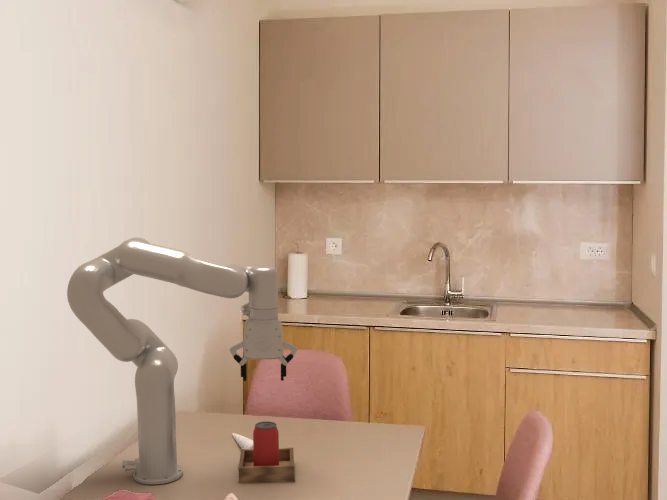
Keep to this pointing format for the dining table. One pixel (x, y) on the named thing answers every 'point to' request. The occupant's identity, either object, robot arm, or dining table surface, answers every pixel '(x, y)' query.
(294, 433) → the dining table surface
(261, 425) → the beer can
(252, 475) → the crate
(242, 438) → the unicorn horn
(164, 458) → the robot arm
